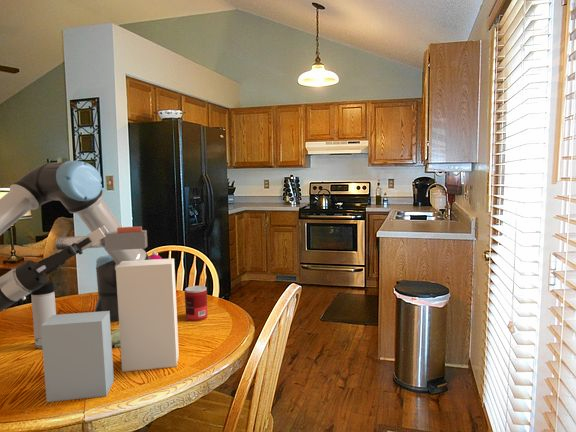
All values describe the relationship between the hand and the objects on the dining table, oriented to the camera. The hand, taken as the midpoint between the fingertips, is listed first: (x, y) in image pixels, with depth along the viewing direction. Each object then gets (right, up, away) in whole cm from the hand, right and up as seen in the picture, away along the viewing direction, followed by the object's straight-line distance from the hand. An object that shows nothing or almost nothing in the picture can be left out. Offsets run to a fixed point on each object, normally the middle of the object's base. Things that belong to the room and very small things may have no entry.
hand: (104, 231), depth 116 cm
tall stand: (+11, -36, +5) cm, 38 cm away
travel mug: (-26, -36, +20) cm, 49 cm away
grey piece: (0, -5, 0) cm, 5 cm away
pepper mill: (-8, -31, +73) cm, 79 cm away
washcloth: (+1, -36, +25) cm, 43 cm away
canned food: (+15, -33, +43) cm, 57 cm away
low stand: (-1, -38, -10) cm, 39 cm away
